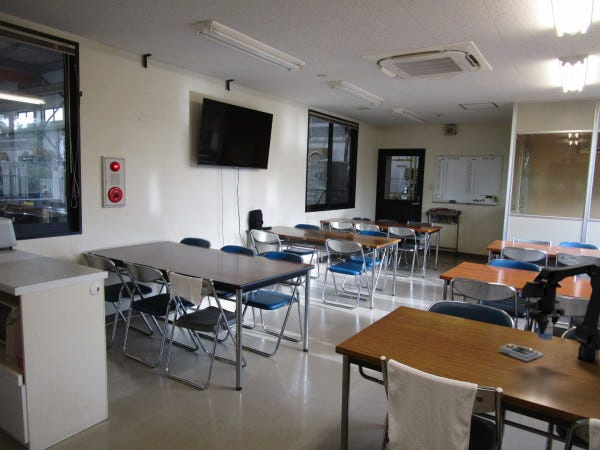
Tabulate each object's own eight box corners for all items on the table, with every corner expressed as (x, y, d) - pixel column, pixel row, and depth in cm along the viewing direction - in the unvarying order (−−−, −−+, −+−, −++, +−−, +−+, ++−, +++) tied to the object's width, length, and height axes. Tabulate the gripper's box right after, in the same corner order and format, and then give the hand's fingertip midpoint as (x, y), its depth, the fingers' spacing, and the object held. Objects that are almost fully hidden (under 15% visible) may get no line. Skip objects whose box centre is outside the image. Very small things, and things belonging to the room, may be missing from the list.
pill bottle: (538, 335, 185) (540, 314, 184) (552, 338, 181) (554, 316, 180) (536, 339, 180) (538, 316, 180) (550, 342, 177) (552, 319, 176)
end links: (542, 355, 188) (543, 348, 188) (526, 361, 181) (527, 354, 181) (516, 346, 199) (516, 339, 198) (499, 351, 192) (500, 345, 191)
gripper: (540, 290, 191) (537, 324, 192) (517, 295, 181) (514, 331, 182) (566, 296, 182) (563, 331, 183) (544, 302, 172) (541, 339, 173)
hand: (545, 333), depth 181 cm, fingers closed on pill bottle, 5 cm apart
